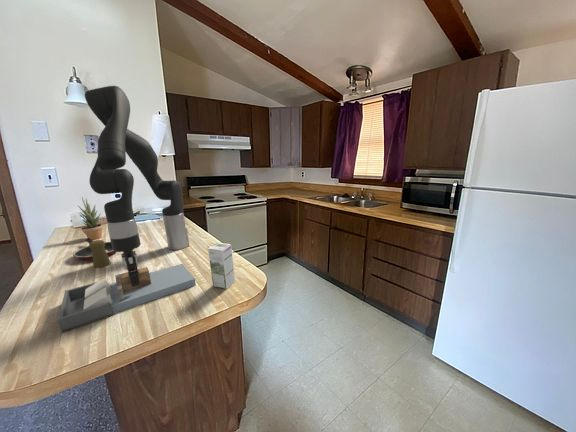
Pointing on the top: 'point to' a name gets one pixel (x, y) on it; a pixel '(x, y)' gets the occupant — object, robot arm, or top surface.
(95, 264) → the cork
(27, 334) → the top surface
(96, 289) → the tile
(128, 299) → the board
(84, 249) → the frying pan
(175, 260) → the top surface
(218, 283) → the syrup box
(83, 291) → the tray
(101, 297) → the tile
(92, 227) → the potted plant
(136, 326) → the top surface
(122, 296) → the scraper
